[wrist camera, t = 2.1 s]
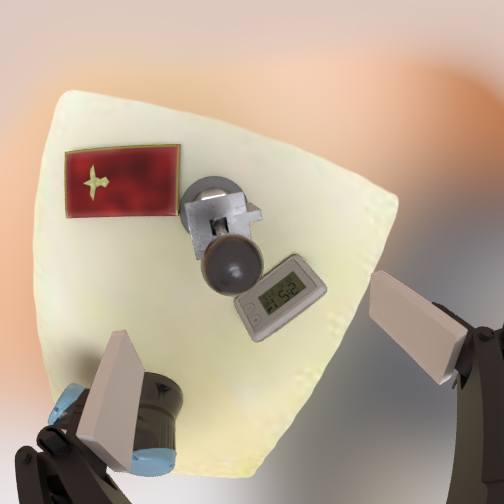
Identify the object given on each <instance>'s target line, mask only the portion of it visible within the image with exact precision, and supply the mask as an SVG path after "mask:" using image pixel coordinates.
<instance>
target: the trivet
mask: <svg viewBox="0 0 504 504" xmlns="http://www.w3.org/2000/svg"><path fill="white" fill-rule="evenodd" d="M209 187H220V188H223V189H225V190H227V191H229V192H230V193H231V194H232V193H237V192H243V191H242V190H241V188H240V187H239V186H238V185H237V184H235V183H234V182H232V181H231V180H229V179H226V178H223V177H217V176H212V177H206V178H203V179H200V180H198V181H197V182H195V183H194V184H192V185H191V186H190V187H189V188H188V190H187V191H186V192H185V194H184V196H183V198H182V201H181V205H180V217H181V221H182V224H183V226H184V228H185V229H186V231H187V232H188V233H189V234H190V229H189V225H188V219H187V214H186V210H185V205H184V204H185V203H188V202H192V201H193V199H194V197H195V196H196V195H197V194H198V193H199V192H200V191H202V190H204V189H206V188H209ZM244 199H245V203H247V199H246V196H245V194H244ZM190 235H191V234H190Z"/></svg>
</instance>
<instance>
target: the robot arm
mask: <svg viewBox="0 0 504 504" xmlns="http://www.w3.org/2000/svg"><path fill="white" fill-rule="evenodd" d="M369 316H370V317H371V318H372V319H373V320H375V321H376V323H378V324H379V325H380V326H381V327H382V328H383V329H384V330H385V331H386V332H387V333H388V334H389V335H390V336H391V337H392V338H393V339H394V340H395V341H396V342H397V343H398V344H399V345H400V346H401V347H402V348H403V349H404V350H405V351H406V352H407V353H408V354H409V355H410V356H411V357H412V358H413V359H414V360H415V361H416V362H417V363H418V364H419V365H420V366H421V367H422V368H423V369H424V370H425V371H426V372H427V373H428V374H429V375H430V376H431V377H432V378H433V379H434V380H435V381H436V382H437V383H438V384H439V385H441V384H442V383H443V382H445V381H447V380H448V379H449V378H451V376H452V373H453V371H454V368H455V369H456V370H457V371H458V374H457V377H456V379H455V381H454V383H453V386H452V389H454V388H455V385H456V384H457V432H456V445H455V455H454V463H453V470H452V477H451V483H450V488H449V493H448V498H447V502H446V504H504V324H503V327H502V329H498V330H495V331H493V330H492V329H490V328H488V327H483V326H482V327H478V328H476V329H475V328H473V327H472V326H471V325H469V324H468V323H467V322H465V321H464V320H462V319H461V318H460V317H458V316H457V315H455V314H454V313H453V312H451V311H449V310H448V309H447V308H445V307H444V306H443V305H440V304H437V303H435V302H432V303H430V302H429V301H427V300H426V299H424V298H423V297H421V296H420V295H419V294H417V293H416V292H414V291H413V290H411V289H410V288H408V287H407V286H405V285H404V284H402V283H401V282H399V281H398V280H396V279H395V278H393V277H392V276H390V275H389V274H387V273H385V272H384V271H383V270H381V271H378V272H374V273H371V291H370V309H369ZM144 371H145V369H144V367H143V365H142V363H141V361H140V359H139V357H138V355H137V353H136V351H135V349H134V347H133V345H132V343H131V341H130V338H129V336H128V334H127V332H126V330H122V331H116V332H113V333H112V335H111V338H110V340H109V342H108V345H107V347H106V350H105V352H104V355H103V357H102V360H101V362H100V365H99V367H98V370H97V373H96V375H95V378H94V381H93V384H92V386H91V389H86V388H84V387H82V386H80V385H79V384H76V383H72V384H70V385H68V386H67V388H66V389H65V390H64V392H63V393H62V395H61V396H60V398H59V399H58V401H57V403H56V405H55V407H54V409H53V410H52V412H51V414H50V416H49V419H48V424H49V426H46V427H44V428H43V429H42V430H41V431H40V432H39V434H38V436H37V440H36V441H37V445H38V446H39V447H40V448H41V449H42V450H43V451H44V452H40V453H38V452H37V451H35V450H34V449H33V448H32V447H30V446H23V447H21V448H20V449H19V450H18V451H17V453H16V455H15V471H16V482H17V490H18V497H19V503H20V504H132V503H131V502H130V501H129V500H128V499H127V497H126V496H125V495H124V494H123V492H122V491H121V490H120V489H119V487H118V486H117V485H116V484H115V482H114V481H113V479H112V478H111V477H110V475H108V474H107V473H106V469H107V466H108V467H109V468H111V469H112V470H113V471H114V472H126V473H130V474H134V475H138V476H145V477H154V476H161V475H165V474H167V473H169V472H171V471H172V470H173V469H174V467H175V458H176V447H175V420H176V418H177V416H178V414H179V412H180V409H181V407H182V404H183V395H182V391H181V389H180V388H179V386H178V385H177V384H176V383H175V382H173V381H172V380H170V379H168V378H166V377H164V376H162V375H158V374H154V373H144Z"/></svg>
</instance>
